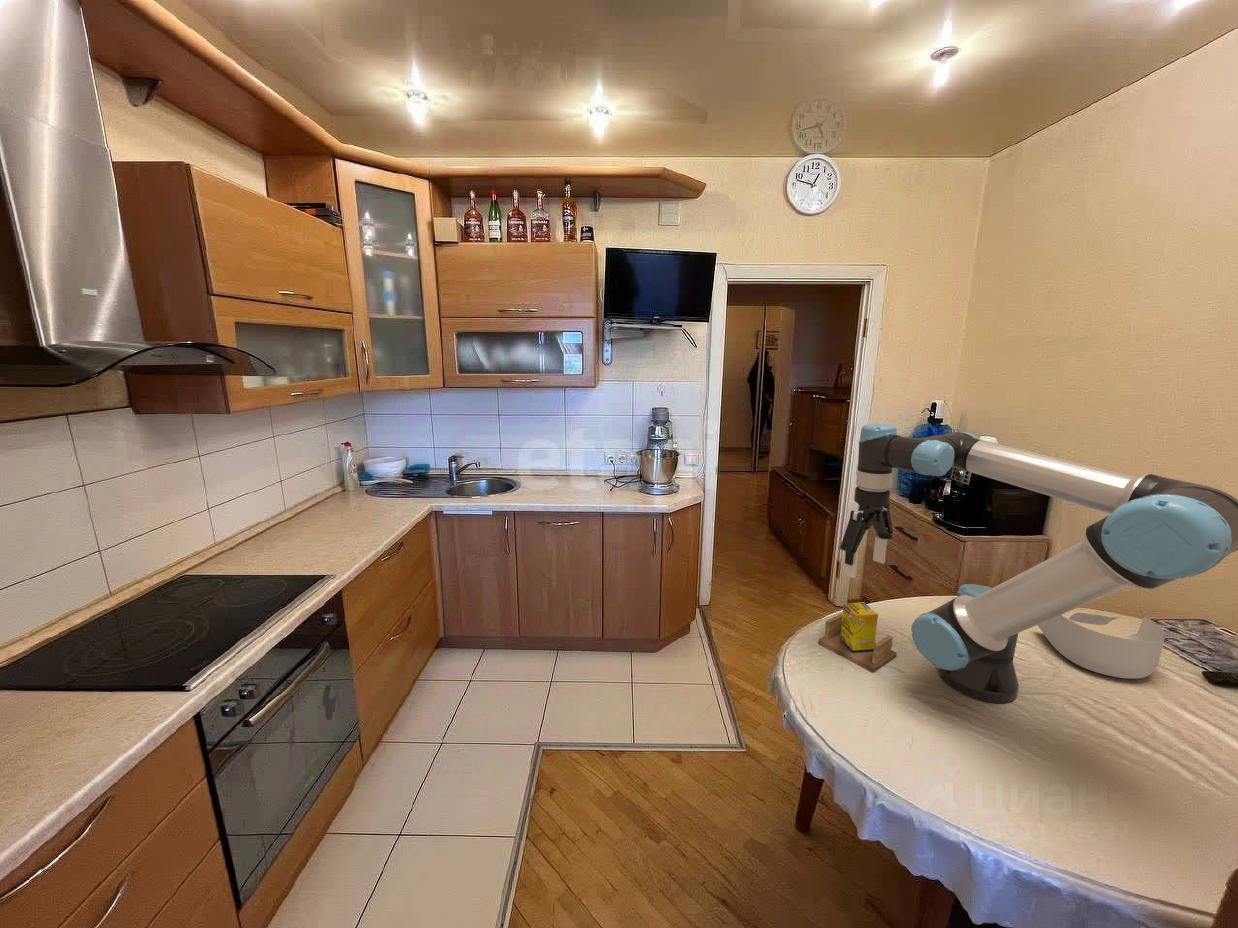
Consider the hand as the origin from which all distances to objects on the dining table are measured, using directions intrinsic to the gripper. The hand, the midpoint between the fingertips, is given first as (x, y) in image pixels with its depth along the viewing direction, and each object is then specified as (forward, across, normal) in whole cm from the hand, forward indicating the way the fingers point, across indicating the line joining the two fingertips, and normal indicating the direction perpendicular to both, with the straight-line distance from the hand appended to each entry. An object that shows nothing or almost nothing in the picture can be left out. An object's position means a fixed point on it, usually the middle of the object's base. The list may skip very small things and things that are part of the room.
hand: (864, 568), depth 120 cm
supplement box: (+22, 0, 0) cm, 22 cm away
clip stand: (+23, 0, 0) cm, 23 cm away
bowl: (+23, -43, +37) cm, 62 cm away
